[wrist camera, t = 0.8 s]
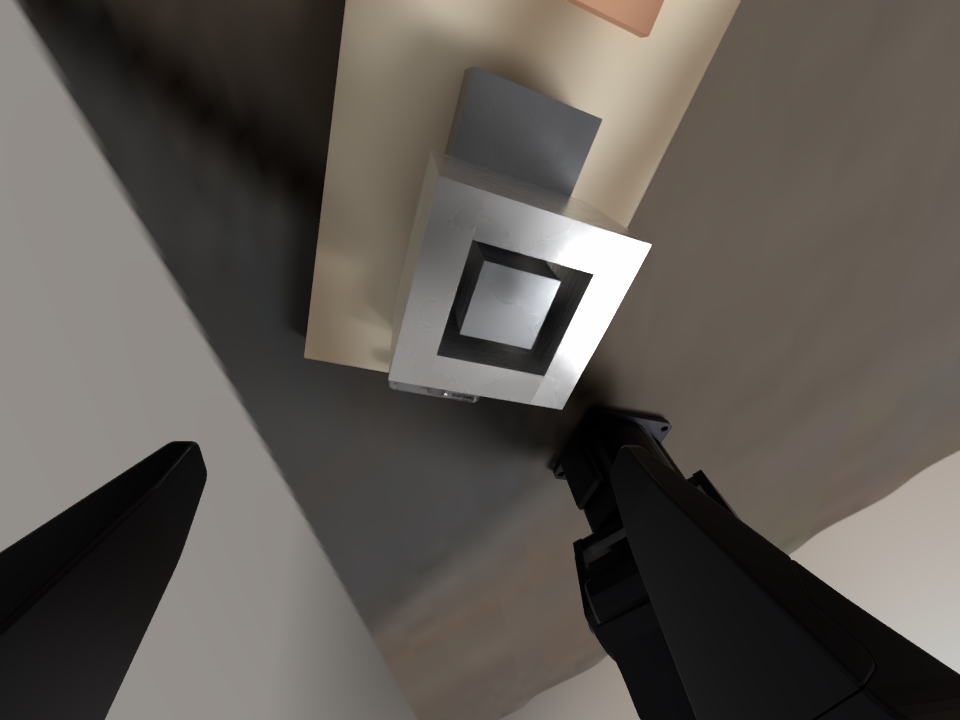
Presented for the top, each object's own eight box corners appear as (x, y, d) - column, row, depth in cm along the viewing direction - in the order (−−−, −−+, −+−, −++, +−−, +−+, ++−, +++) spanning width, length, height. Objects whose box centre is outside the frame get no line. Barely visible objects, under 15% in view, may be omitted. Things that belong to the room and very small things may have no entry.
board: (862, -300, 12) (936, -365, 10) (534, 384, 25) (543, 406, 23) (439, -703, 8) (446, -906, 7) (310, 341, 21) (301, 364, 20)
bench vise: (580, 116, 16) (675, 132, 10) (474, 387, 23) (496, 490, 17) (462, 67, 14) (496, 55, 9) (387, 372, 21) (378, 478, 15)
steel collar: (586, 202, 15) (651, 244, 11) (528, 336, 18) (562, 409, 14) (430, 149, 14) (439, 175, 9) (394, 307, 17) (387, 380, 12)
